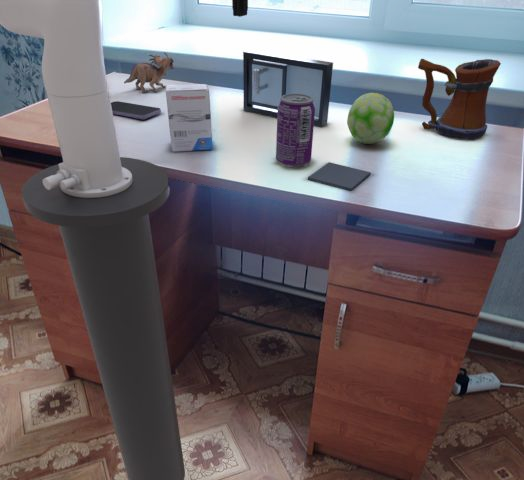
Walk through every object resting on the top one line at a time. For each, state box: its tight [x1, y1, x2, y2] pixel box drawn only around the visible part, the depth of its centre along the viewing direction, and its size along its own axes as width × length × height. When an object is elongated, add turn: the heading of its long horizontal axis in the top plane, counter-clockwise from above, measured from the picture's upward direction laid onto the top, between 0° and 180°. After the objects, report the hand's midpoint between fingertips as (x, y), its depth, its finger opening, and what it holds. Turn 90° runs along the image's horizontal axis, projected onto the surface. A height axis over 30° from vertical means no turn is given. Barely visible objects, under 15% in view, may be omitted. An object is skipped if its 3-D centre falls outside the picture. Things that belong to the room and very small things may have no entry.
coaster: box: [307, 162, 372, 192], centre depth 96 cm, size 9×9×1 cm
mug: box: [417, 58, 501, 141], centre depth 113 cm, size 18×12×15 cm, turn 77°
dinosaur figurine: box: [123, 52, 175, 94], centre depth 136 cm, size 14×6×9 cm, turn 101°
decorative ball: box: [346, 92, 395, 145], centre depth 108 cm, size 10×10×10 cm
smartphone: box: [111, 100, 162, 121], centre depth 124 cm, size 7×1×15 cm
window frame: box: [242, 49, 334, 128], centre depth 119 cm, size 3×22×13 cm, turn 58°
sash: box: [249, 59, 287, 110], centre depth 119 cm, size 6×10×10 cm, turn 58°
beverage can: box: [275, 94, 315, 168], centre depth 98 cm, size 7×7×12 cm
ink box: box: [165, 83, 213, 153], centre depth 103 cm, size 8×5×12 cm, turn 100°
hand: (240, 15), depth 110 cm, fingers closed
